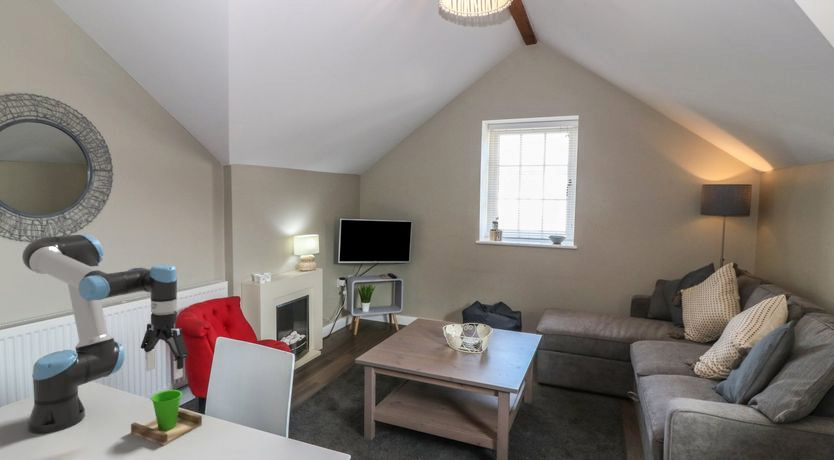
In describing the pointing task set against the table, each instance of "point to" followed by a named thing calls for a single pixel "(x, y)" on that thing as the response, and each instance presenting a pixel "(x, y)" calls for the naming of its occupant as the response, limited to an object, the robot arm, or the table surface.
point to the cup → (166, 408)
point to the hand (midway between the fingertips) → (164, 373)
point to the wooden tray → (183, 426)
